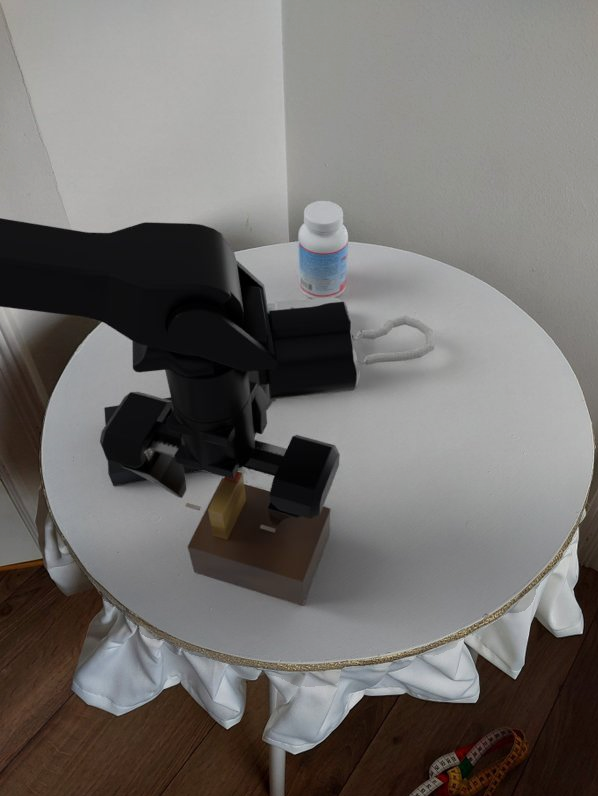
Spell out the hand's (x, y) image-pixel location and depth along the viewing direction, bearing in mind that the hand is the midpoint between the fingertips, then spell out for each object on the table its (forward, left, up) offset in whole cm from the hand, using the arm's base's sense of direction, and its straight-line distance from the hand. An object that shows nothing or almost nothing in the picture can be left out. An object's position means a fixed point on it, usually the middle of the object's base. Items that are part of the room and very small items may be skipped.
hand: (229, 507), depth 65 cm
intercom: (+15, +24, -7) cm, 29 cm away
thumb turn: (0, 0, -2) cm, 2 cm away
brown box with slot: (+2, -2, -7) cm, 7 cm away
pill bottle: (+17, +35, -7) cm, 40 cm away
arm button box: (-5, +14, -7) cm, 16 cm away
